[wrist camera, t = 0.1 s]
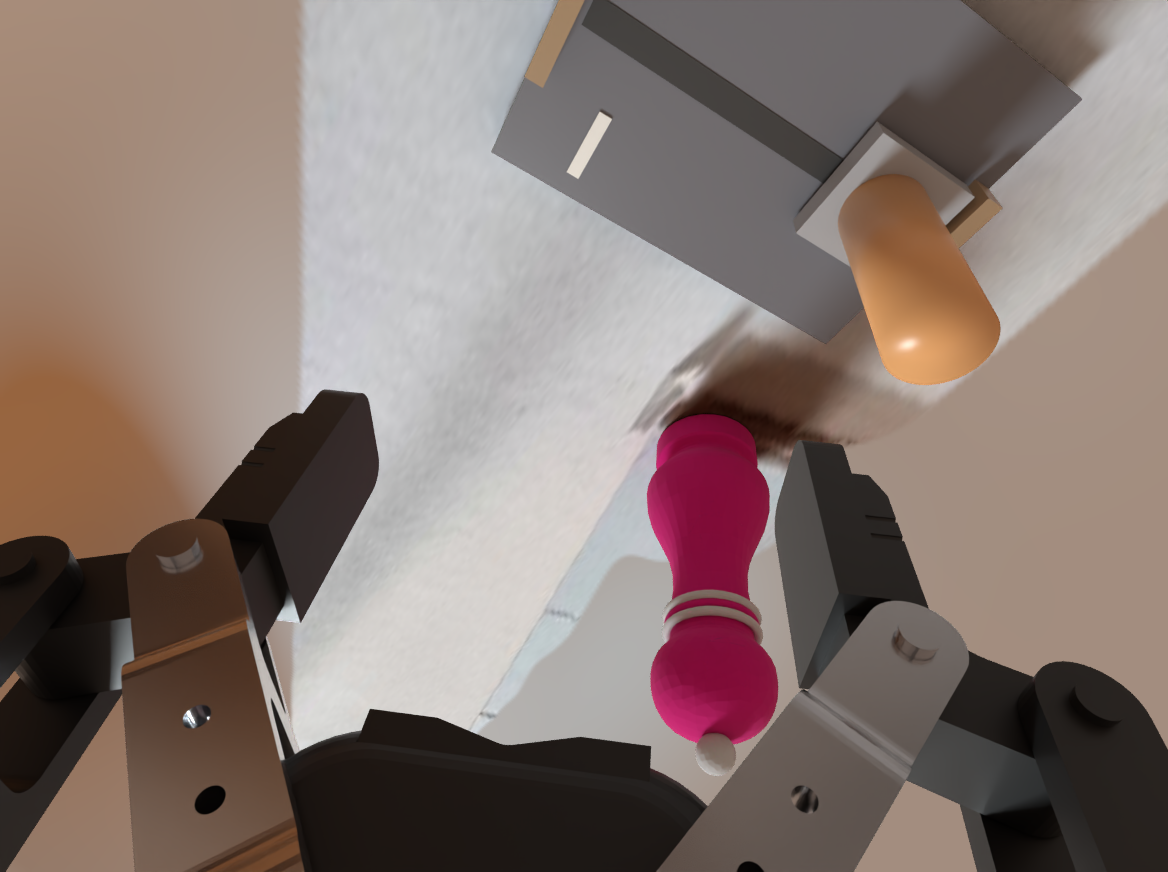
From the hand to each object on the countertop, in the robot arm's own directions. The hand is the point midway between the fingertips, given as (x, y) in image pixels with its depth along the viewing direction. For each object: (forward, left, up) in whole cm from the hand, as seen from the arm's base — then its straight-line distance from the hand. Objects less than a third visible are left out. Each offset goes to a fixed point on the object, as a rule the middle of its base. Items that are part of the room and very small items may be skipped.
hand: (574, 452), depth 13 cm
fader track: (-2, +6, -22) cm, 23 cm away
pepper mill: (+16, +16, -23) cm, 32 cm away
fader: (-2, +12, -21) cm, 24 cm away
